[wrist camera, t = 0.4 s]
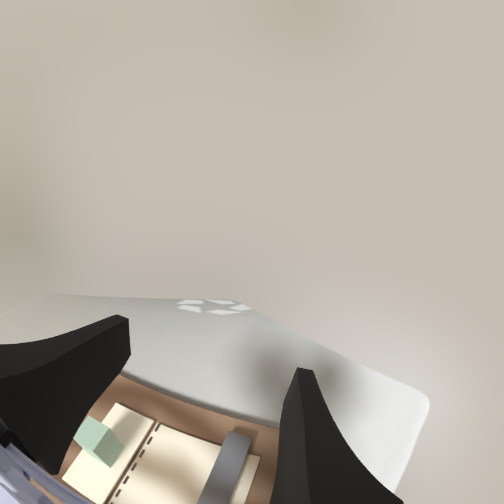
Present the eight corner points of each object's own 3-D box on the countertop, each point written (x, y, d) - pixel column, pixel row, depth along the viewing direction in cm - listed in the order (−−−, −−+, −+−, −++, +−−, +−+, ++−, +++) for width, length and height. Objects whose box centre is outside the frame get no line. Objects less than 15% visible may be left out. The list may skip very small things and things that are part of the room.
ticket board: (254, 598, 8) (257, 603, 6) (21, 477, 13) (5, 466, 12) (304, 439, 25) (310, 427, 24) (103, 372, 31) (96, 356, 29)
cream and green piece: (102, 507, 14) (79, 495, 12) (63, 479, 15) (38, 462, 13) (154, 422, 24) (144, 398, 22) (117, 404, 25) (103, 378, 23)
